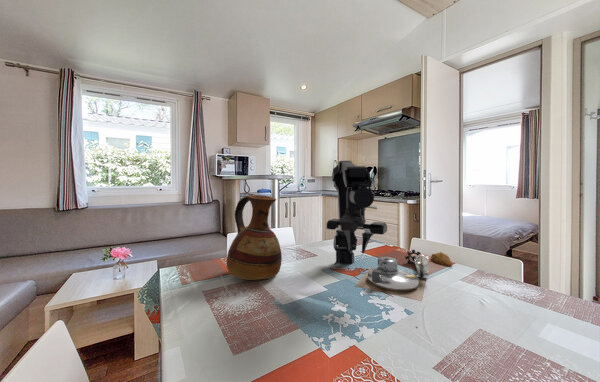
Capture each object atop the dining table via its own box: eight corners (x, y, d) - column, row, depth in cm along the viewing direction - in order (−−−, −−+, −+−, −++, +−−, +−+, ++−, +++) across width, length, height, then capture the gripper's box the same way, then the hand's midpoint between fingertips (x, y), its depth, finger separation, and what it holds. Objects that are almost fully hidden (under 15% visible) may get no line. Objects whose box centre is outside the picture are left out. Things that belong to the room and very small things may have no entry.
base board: (354, 289, 76) (354, 285, 76) (371, 270, 92) (371, 266, 92) (421, 304, 66) (421, 300, 66) (427, 280, 82) (427, 276, 82)
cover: (374, 272, 82) (374, 260, 82) (379, 266, 88) (379, 255, 88) (396, 276, 79) (396, 263, 79) (399, 269, 85) (399, 258, 85)
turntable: (361, 284, 76) (361, 270, 76) (374, 268, 89) (374, 256, 89) (415, 296, 68) (415, 280, 68) (421, 277, 81) (421, 263, 81)
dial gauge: (414, 278, 81) (414, 255, 81) (415, 275, 84) (415, 252, 83) (428, 280, 79) (428, 256, 79) (428, 277, 81) (428, 254, 81)
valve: (434, 277, 84) (421, 265, 96) (434, 259, 84) (421, 249, 96) (414, 276, 85) (404, 265, 97) (415, 258, 85) (404, 249, 97)
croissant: (424, 258, 105) (424, 247, 105) (440, 258, 105) (440, 247, 105) (440, 270, 92) (440, 257, 91) (459, 270, 91) (459, 257, 91)
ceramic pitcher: (267, 290, 76) (265, 196, 74) (214, 282, 82) (212, 195, 81) (290, 269, 94) (288, 193, 93) (245, 264, 101) (243, 193, 100)
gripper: (318, 205, 76) (319, 254, 76) (378, 208, 66) (378, 264, 66) (333, 202, 85) (333, 246, 86) (387, 205, 75) (387, 253, 76)
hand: (355, 252), depth 78 cm, fingers open, 5 cm apart
